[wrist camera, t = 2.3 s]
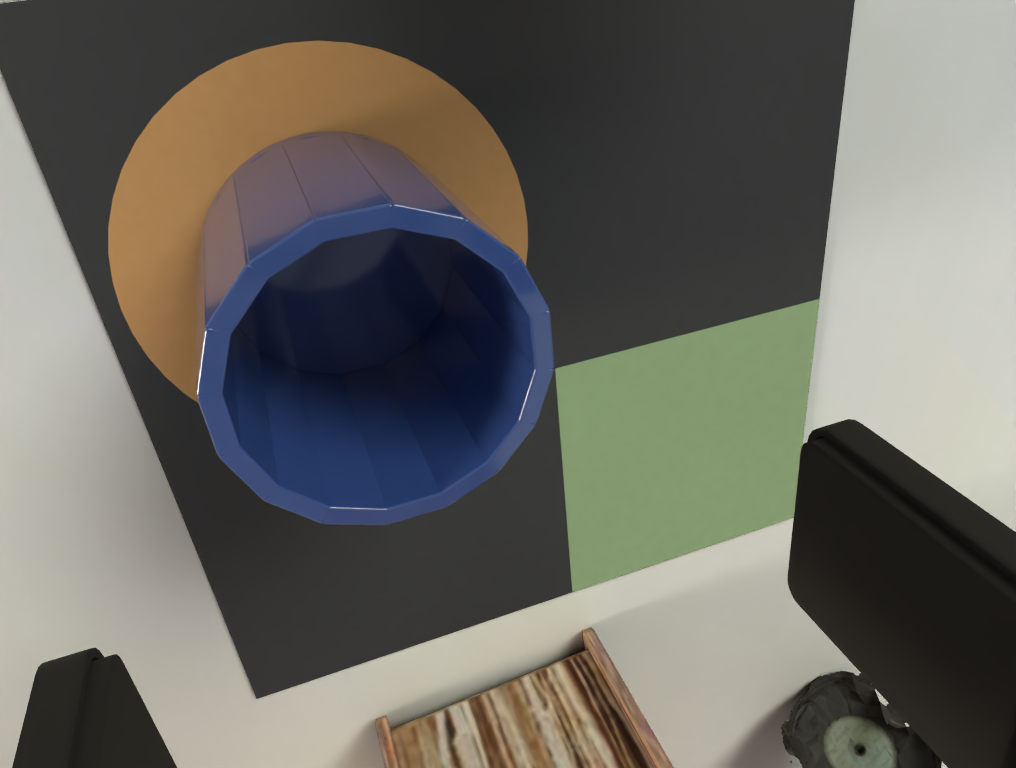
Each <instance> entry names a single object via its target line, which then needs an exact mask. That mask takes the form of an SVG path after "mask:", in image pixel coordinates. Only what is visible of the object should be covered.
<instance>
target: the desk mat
mask: <svg viewBox="0 0 1016 768" xmlns="http://www.w3.org/2000/svg"><path fill="white" fill-rule="evenodd" d="M854 1H855V0H26V1H18V2H10V3H2V4H0V69H1V72H2V74H3V77H4V79H5V81H6V84H7V86H8V89H9V91H10V94H11V96H12V99H13V101H14V104H15V106H16V108H17V111H18V113H19V116H20V118H21V121H22V123H23V126H24V128H25V131H26V133H27V136H28V138H29V140H30V143H31V145H32V148H33V150H34V153H35V155H36V158H37V160H38V163H39V165H40V167H41V170H42V172H43V175H44V177H45V180H46V182H47V185H48V187H49V190H50V192H51V194H52V197H53V199H54V202H55V204H56V207H57V209H58V212H59V214H60V217H61V219H62V222H63V224H64V226H65V229H66V231H67V234H68V236H69V239H70V241H71V244H72V246H73V249H74V251H75V253H76V256H77V258H78V261H79V263H80V266H81V268H82V271H83V273H84V276H85V278H86V280H87V283H88V285H89V288H90V290H91V293H92V295H93V298H94V300H95V303H96V305H97V308H98V310H99V312H100V315H101V317H102V320H103V322H104V325H105V327H106V330H107V332H108V335H109V337H110V339H111V342H112V344H113V347H114V349H115V352H116V354H117V357H118V359H119V362H120V364H121V366H122V369H123V371H124V374H125V376H126V379H127V381H128V384H129V386H130V389H131V391H132V394H133V396H134V398H135V401H136V403H137V406H138V408H139V411H140V413H141V416H142V418H143V421H144V423H145V425H146V428H147V430H148V433H149V435H150V438H151V440H152V443H153V445H154V448H155V450H156V452H157V455H158V457H159V460H160V462H161V465H162V467H163V470H164V472H165V475H166V477H167V480H168V482H169V484H170V487H171V489H172V492H173V494H174V497H175V499H176V502H177V504H178V507H179V509H180V511H181V514H182V516H183V519H184V521H185V524H186V526H187V529H188V531H189V534H190V536H191V538H192V541H193V543H194V546H195V548H196V551H197V553H198V556H199V558H200V561H201V563H202V566H203V568H204V570H205V573H206V575H207V578H208V580H209V583H210V585H211V588H212V590H213V593H214V595H215V597H216V600H217V602H218V605H219V607H220V610H221V612H222V615H223V617H224V620H225V622H226V625H227V627H228V629H229V632H230V634H231V637H232V639H233V642H234V644H235V647H236V649H237V652H238V654H239V656H240V659H241V661H242V664H243V666H244V669H245V671H246V674H247V676H248V679H249V681H250V683H251V686H252V688H253V691H254V693H255V696H256V698H257V699H258V698H261V697H264V696H267V695H270V694H273V693H276V692H278V691H281V690H284V689H287V688H290V687H293V686H296V685H299V684H302V683H305V682H308V681H311V680H314V679H317V678H320V677H323V676H326V675H329V674H332V673H335V672H338V671H341V670H343V669H346V668H349V667H352V666H355V665H358V664H361V663H364V662H367V661H370V660H373V659H376V658H379V657H382V656H385V655H388V654H391V653H394V652H397V651H400V650H403V649H406V648H409V647H411V646H414V645H417V644H420V643H423V642H426V641H429V640H432V639H435V638H438V637H441V636H444V635H447V634H450V633H453V632H456V631H459V630H462V629H465V628H468V627H471V626H474V625H477V624H479V623H482V622H485V621H488V620H491V619H494V618H497V617H500V616H503V615H506V614H509V613H512V612H515V611H518V610H521V609H524V608H527V607H530V606H533V605H536V604H539V603H542V602H545V601H547V600H550V599H553V598H556V597H559V596H562V595H565V594H568V593H571V592H575V591H578V590H581V589H584V588H586V587H589V586H592V585H595V584H598V583H601V582H604V581H607V580H610V579H613V578H616V577H619V576H622V575H625V574H628V573H631V572H634V571H637V570H640V569H643V568H646V567H649V566H651V565H654V564H657V563H660V562H663V561H666V560H669V559H672V558H675V557H678V556H681V555H684V554H687V553H690V552H693V551H696V550H699V549H702V548H705V547H708V546H711V545H714V544H716V543H719V542H722V541H725V540H728V539H731V538H734V537H737V536H740V535H743V534H746V533H749V532H752V531H755V530H758V529H761V528H764V527H767V526H770V525H773V524H776V523H779V522H782V521H784V520H787V519H790V518H793V517H794V510H795V501H796V492H797V482H798V472H799V463H800V453H801V448H802V443H803V434H804V426H805V417H806V409H807V400H808V392H809V383H810V375H811V367H812V358H813V350H814V341H815V333H816V324H817V316H818V307H819V297H820V289H821V280H822V272H823V264H824V255H825V247H826V238H827V230H828V221H829V213H830V204H831V196H832V187H833V179H834V170H835V162H836V154H837V145H838V137H839V128H840V120H841V111H842V103H843V94H844V86H845V77H846V69H847V60H848V52H849V43H850V35H851V27H852V18H853V10H854ZM322 131H340V132H350V133H356V134H362V135H366V136H369V137H372V138H375V139H379V140H381V141H383V142H386V143H388V144H390V145H392V146H394V147H396V148H398V149H400V150H401V151H403V152H404V153H406V154H407V155H409V156H411V157H412V158H413V159H414V160H415V161H417V162H418V163H419V164H420V165H421V166H423V167H424V168H425V169H427V170H428V171H429V172H431V173H432V174H434V175H435V176H436V177H437V178H438V179H439V180H440V181H441V182H442V183H443V184H444V185H445V186H447V187H448V188H449V189H450V190H451V191H452V192H453V193H454V194H455V195H456V196H457V197H458V198H459V199H460V200H461V201H462V202H463V203H464V204H465V205H466V206H468V207H469V208H470V209H471V210H472V211H473V212H474V213H475V214H476V215H477V216H478V217H479V218H480V219H481V220H482V221H483V222H484V223H485V224H486V225H487V226H488V227H490V228H491V229H492V230H493V231H494V232H495V233H496V234H497V235H498V236H499V237H500V238H501V239H502V240H503V241H504V242H505V243H506V244H507V245H508V246H509V247H510V248H512V249H513V250H514V251H515V252H516V253H517V254H518V256H519V257H520V258H521V259H522V261H523V262H524V264H525V266H526V268H527V270H528V271H529V273H530V275H531V277H532V278H533V280H534V282H535V284H536V286H537V287H538V289H539V291H540V293H541V295H542V296H543V298H544V300H545V302H546V303H547V305H548V307H549V311H550V319H551V332H552V345H553V358H554V368H553V369H554V371H553V374H552V377H551V380H550V383H549V386H548V389H547V392H546V395H545V398H544V402H543V405H542V408H541V411H540V414H539V417H538V420H537V423H536V424H535V426H534V428H533V429H532V430H531V432H530V433H529V434H528V435H527V437H526V438H525V439H524V441H523V442H522V443H521V444H520V446H519V447H518V448H517V449H516V451H515V452H514V453H513V455H512V456H511V457H510V458H509V460H508V461H507V462H506V464H505V465H504V466H503V467H502V469H501V470H500V471H497V474H496V475H494V476H493V477H491V478H490V479H488V480H487V481H485V482H484V483H482V484H481V485H479V486H478V487H476V488H475V489H473V490H472V491H470V492H469V493H467V494H466V495H464V496H463V497H461V498H460V499H458V500H457V501H455V502H454V503H452V504H451V505H449V506H446V507H445V508H442V509H439V510H436V511H432V512H429V513H426V514H422V515H419V516H416V517H412V518H409V519H406V520H402V521H399V522H396V523H392V524H389V525H387V524H386V525H347V524H324V523H319V522H316V521H314V520H311V519H309V518H306V517H304V516H301V515H298V514H296V513H293V512H291V511H288V510H285V509H283V508H280V507H278V506H275V505H272V504H270V503H267V502H265V501H264V500H262V499H261V498H260V497H259V496H258V495H257V494H256V493H255V492H254V491H253V490H252V489H251V488H250V487H249V486H248V485H247V484H246V483H245V482H244V481H242V480H241V479H240V478H239V477H238V476H237V475H236V474H235V473H234V472H233V471H232V470H231V469H230V468H229V467H228V466H227V465H226V464H225V463H224V462H223V461H222V460H221V459H220V458H219V456H218V455H217V453H216V450H215V447H214V444H213V442H212V439H211V436H210V433H209V430H208V428H207V425H206V422H205V419H204V417H203V414H202V411H201V408H200V405H199V403H198V400H197V393H196V335H197V267H198V259H199V246H200V238H201V233H202V227H203V223H204V220H205V218H206V215H207V212H208V210H209V207H210V205H211V204H212V202H213V200H214V198H215V196H216V194H217V192H218V191H219V190H220V188H221V187H222V185H223V184H224V183H225V181H226V180H227V179H228V177H229V176H230V175H231V174H232V173H233V172H234V171H235V170H236V169H237V168H238V167H239V166H240V165H241V164H243V163H244V162H245V161H247V160H248V159H249V158H251V157H252V156H253V155H254V154H256V153H257V152H259V151H261V150H263V149H265V148H266V147H268V146H270V145H272V144H274V143H277V142H279V141H282V140H284V139H287V138H289V137H293V136H298V135H302V134H306V133H313V132H322Z"/></svg>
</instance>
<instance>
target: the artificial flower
mask: <svg viewBox="0 0 1016 768" xmlns="http://www.w3.org/2000/svg"><path fill="white" fill-rule="evenodd" d="M904 723H906V721H905V720H904V719H903V718H902V717H901V716H900V715H899V714H898V712H897V711H896V710H895V709H894V708H893V707H892V706H891V705H890V704H888V705H887V706H885V705H883V704H882V703H881V702H880V701H879V699H878V697H877V694H876V692H875V687H874V686H873V685H871V683H870V682H869V681H868V680H867V679H866V678H865V677H864V675H863V674H862V673H860V674H859V676H856V675H855V674H854V673H850V672H845V671H840V672H836V673H834V674H830V676H828V675H827V676H826V675H824V676H820V677H818V678H817V679H816V680H815V681H814V682H811V685H810V687H809V690H808V692H807V693H806V695H804V696H802V697H801V699H800V700H799V701H797V702H796V704H795V705H794V709H793V711H791V718H789V721H786V722H784V724H783V725H782V727H781V729H782V735H783V739H784V740H783V743H784V745H785V749H786V750H787V751H788V753H789V754H790V755H794V756H795V757H797V758H798V759H799V760H800V763H801V765H802V767H803V768H941V763H942V760H941V759H940V758H939V757H938V756H937V755H936V754H935V753H934V752H933V751H932V749H931V748H930V747H929V746H928V745H927V744H926V743H925V742H924V741H923V740H922V739H921V737H920V736H919V735H918V734H917V733H916V732H915V731H914V730H913V729H912V728H911V727H910V726H909V727H906V725H905V724H904ZM790 763H792V760H791V762H790Z"/></svg>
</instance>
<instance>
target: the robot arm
mask: <svg viewBox="0 0 1016 768" xmlns="http://www.w3.org/2000/svg"><path fill="white" fill-rule="evenodd" d="M788 585H789V589H790V591H791V594H792V596H793V598H794V599H795V601H796V602H797V603H798V605H799V606H800V607H801V608H802V609H803V610H804V611H805V612H806V613H807V614H808V616H809V617H810V618H811V619H812V620H813V621H814V622H815V623H816V624H817V625H818V626H819V628H820V629H821V630H822V631H823V632H824V633H825V634H826V635H827V636H828V637H829V638H830V639H831V641H832V642H833V643H834V644H835V645H836V646H837V647H838V648H839V649H840V650H841V651H842V653H843V654H844V655H845V656H846V657H847V658H848V659H849V660H850V661H851V662H852V663H853V665H854V666H855V667H856V668H857V669H858V670H859V671H860V672H861V673H862V674H863V675H864V677H865V678H866V679H867V680H868V681H869V682H870V683H871V684H872V685H873V686H874V687H875V688H876V690H877V691H878V692H879V693H880V694H881V695H882V696H883V697H884V698H885V699H886V700H887V702H888V703H889V704H890V705H891V706H892V707H893V708H894V709H895V710H896V711H897V712H898V714H899V715H900V716H901V717H902V718H903V719H904V720H905V721H906V722H907V723H908V724H909V726H910V727H911V728H912V729H913V730H914V731H915V732H916V733H917V734H918V735H919V736H920V737H921V739H922V740H923V741H924V742H925V743H926V744H927V745H928V746H929V747H930V748H931V749H932V751H933V752H934V753H935V754H936V755H937V756H938V757H939V758H940V759H941V760H942V761H943V763H944V764H945V765H946V766H947V767H948V768H1016V532H1014V531H1013V530H1012V529H1010V528H1009V527H1007V526H1006V525H1005V524H1003V523H1002V522H1000V521H999V520H997V519H996V518H995V517H993V516H992V515H990V514H989V513H988V512H986V511H985V510H983V509H982V508H980V507H979V506H978V505H976V504H975V503H973V502H972V501H971V500H969V499H968V498H966V497H965V496H963V495H962V494H961V493H959V492H958V491H956V490H955V489H953V488H952V487H951V486H949V485H948V484H946V483H945V482H944V481H942V480H941V479H939V478H938V477H936V476H935V475H934V474H932V473H931V472H929V471H928V470H927V469H925V468H924V467H922V466H921V465H919V464H918V463H917V462H915V461H914V460H912V459H911V458H910V457H908V456H907V455H905V454H904V453H902V452H901V451H900V450H898V449H897V448H895V447H894V446H892V445H891V444H890V443H888V442H887V441H885V440H884V439H883V438H881V437H880V436H878V435H877V434H875V433H874V432H873V431H871V430H870V429H868V428H867V427H866V426H864V425H863V424H861V423H860V422H858V421H856V420H850V419H848V420H844V421H841V422H838V423H834V424H831V425H828V426H825V427H821V428H818V429H815V430H813V431H812V432H811V434H810V435H809V438H808V442H807V443H805V444H804V445H803V446H802V448H801V453H800V463H799V472H798V482H797V492H796V501H795V511H794V521H793V531H792V540H791V550H790V560H789V570H788ZM12 768H177V766H176V764H175V763H174V761H173V759H172V757H171V755H170V753H169V751H168V749H167V747H166V745H165V743H164V741H163V739H162V737H161V735H160V733H159V731H158V729H157V728H156V726H155V724H154V722H153V720H152V718H151V716H150V714H149V712H148V710H147V708H146V706H145V704H144V702H143V700H142V698H141V696H140V694H139V692H138V691H137V689H136V687H135V685H134V683H133V681H132V679H131V677H130V675H129V673H128V671H127V669H126V667H125V665H124V663H123V661H122V660H121V658H120V657H119V656H118V655H117V654H115V655H111V656H108V657H104V656H103V655H102V653H101V652H100V651H99V650H98V649H96V648H91V649H88V650H84V651H81V652H78V653H74V654H71V655H68V656H65V657H61V658H58V659H55V660H51V661H48V662H45V663H42V664H41V665H40V666H39V667H38V669H37V672H36V675H35V678H34V682H33V687H32V691H31V695H30V699H29V703H28V707H27V711H26V715H25V719H24V723H23V727H22V731H21V735H20V739H19V743H18V747H17V751H16V755H15V759H14V763H13V767H12Z"/></svg>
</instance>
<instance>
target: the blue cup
mask: <svg viewBox="0 0 1016 768" xmlns="http://www.w3.org/2000/svg"><path fill="white" fill-rule="evenodd" d="M553 368H554V358H553V345H552V332H551V319H550V311H549V307H548V305H547V303H546V302H545V300H544V298H543V296H542V295H541V293H540V291H539V289H538V287H537V286H536V284H535V282H534V280H533V278H532V277H531V275H530V273H529V271H528V270H527V268H526V266H525V264H524V262H523V261H522V259H521V258H520V257H519V256H518V254H517V253H516V252H515V251H514V250H513V249H512V248H510V247H509V246H508V245H507V244H506V243H505V242H504V241H503V240H502V239H501V238H500V237H499V236H498V235H497V234H496V233H495V232H494V231H493V230H492V229H491V228H490V227H488V226H487V225H486V224H485V223H484V222H483V221H482V220H481V219H480V218H479V217H478V216H477V215H476V214H475V213H474V212H473V211H472V210H471V209H470V208H469V207H468V206H466V205H465V204H464V203H463V202H462V201H461V200H460V199H459V198H458V197H457V196H456V195H455V194H454V193H453V192H452V191H451V190H450V189H449V188H448V187H447V186H445V185H444V184H443V183H442V182H441V181H440V180H439V179H438V178H437V177H436V176H435V175H434V174H432V173H431V172H429V171H428V170H427V169H425V168H424V167H423V166H421V165H420V164H419V163H418V162H417V161H415V160H414V159H413V158H412V157H411V156H409V155H407V154H406V153H404V152H403V151H401V150H400V149H398V148H396V147H394V146H392V145H390V144H388V143H386V142H383V141H381V140H379V139H375V138H372V137H369V136H366V135H362V134H356V133H350V132H340V131H322V132H313V133H306V134H302V135H298V136H293V137H289V138H287V139H284V140H282V141H279V142H277V143H274V144H272V145H270V146H268V147H266V148H265V149H263V150H261V151H259V152H257V153H256V154H254V155H253V156H252V157H251V158H249V159H248V160H247V161H245V162H244V163H243V164H241V165H240V166H239V167H238V168H237V169H236V170H235V171H234V172H233V173H232V174H231V175H230V176H229V177H228V179H227V180H226V181H225V183H224V184H223V185H222V187H221V188H220V190H219V191H218V192H217V194H216V196H215V198H214V200H213V202H212V204H211V205H210V207H209V210H208V212H207V215H206V218H205V220H204V223H203V227H202V233H201V238H200V246H199V259H198V267H197V335H196V393H197V400H198V403H199V405H200V408H201V411H202V414H203V417H204V419H205V422H206V425H207V428H208V430H209V433H210V436H211V439H212V442H213V444H214V447H215V450H216V453H217V455H218V456H219V458H220V459H221V460H222V461H223V462H224V463H225V464H226V465H227V466H228V467H229V468H230V469H231V470H232V471H233V472H234V473H235V474H236V475H237V476H238V477H239V478H240V479H241V480H242V481H244V482H245V483H246V484H247V485H248V486H249V487H250V488H251V489H252V490H253V491H254V492H255V493H256V494H257V495H258V496H259V497H260V498H261V499H262V500H264V501H265V502H267V503H270V504H272V505H275V506H278V507H280V508H283V509H285V510H288V511H291V512H293V513H296V514H298V515H301V516H304V517H306V518H309V519H311V520H314V521H316V522H319V523H324V524H347V525H386V524H387V525H389V524H392V523H396V522H399V521H402V520H406V519H409V518H412V517H416V516H419V515H422V514H426V513H429V512H432V511H436V510H439V509H442V508H445V507H446V506H449V505H451V504H452V503H454V502H455V501H457V500H458V499H460V498H461V497H463V496H464V495H466V494H467V493H469V492H470V491H472V490H473V489H475V488H476V487H478V486H479V485H481V484H482V483H484V482H485V481H487V480H488V479H490V478H491V477H493V476H494V475H496V474H497V471H500V470H501V469H502V467H503V466H504V465H505V464H506V462H507V461H508V460H509V458H510V457H511V456H512V455H513V453H514V452H515V451H516V449H517V448H518V447H519V446H520V444H521V443H522V442H523V441H524V439H525V438H526V437H527V435H528V434H529V433H530V432H531V430H532V429H533V428H534V426H535V424H536V423H537V420H538V417H539V414H540V411H541V408H542V405H543V402H544V398H545V395H546V392H547V389H548V386H549V383H550V380H551V377H552V374H553V371H554V369H553Z"/></svg>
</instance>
